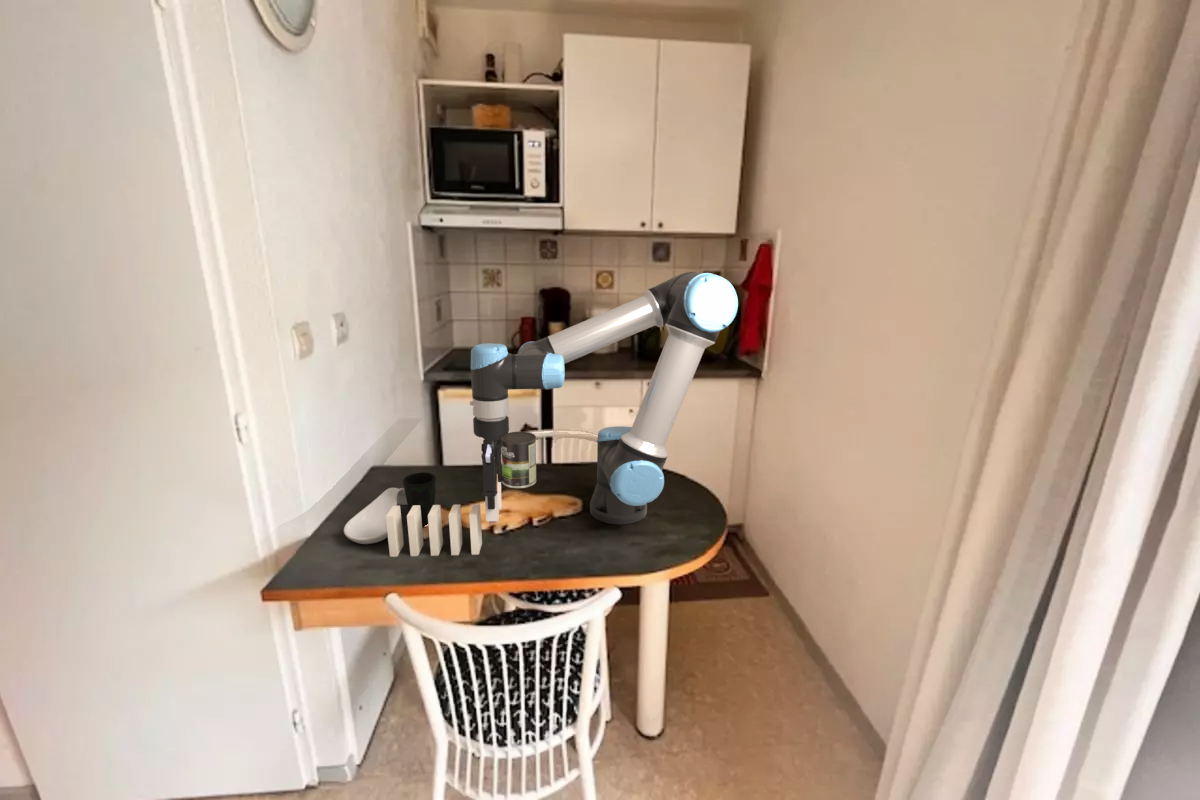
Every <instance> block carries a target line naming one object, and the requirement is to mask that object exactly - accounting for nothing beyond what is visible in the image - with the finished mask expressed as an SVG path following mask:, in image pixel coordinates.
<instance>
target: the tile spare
mask: <svg viewBox="0 0 1200 800" xmlns="http://www.w3.org/2000/svg"><path fill="white" fill-rule="evenodd" d="M497 493H498V474H497ZM498 509H499V505H498ZM499 510H500V509H499ZM497 522H498V521H488V525H491V526H493V525H495V526H496V525H497Z"/></svg>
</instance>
